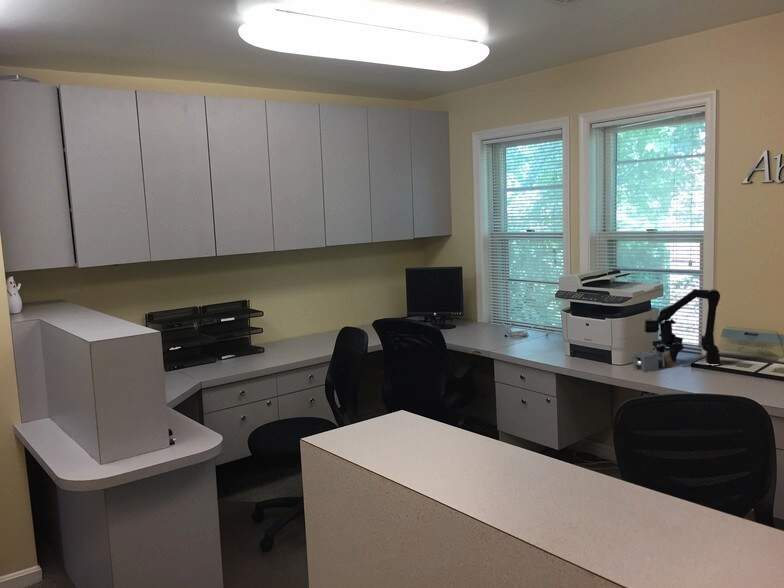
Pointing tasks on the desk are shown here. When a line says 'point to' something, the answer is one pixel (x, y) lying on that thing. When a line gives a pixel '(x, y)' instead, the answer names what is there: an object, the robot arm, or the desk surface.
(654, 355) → the gauge frame
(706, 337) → the robot arm
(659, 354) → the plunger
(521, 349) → the desk surface
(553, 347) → the desk surface
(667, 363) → the pusher block
